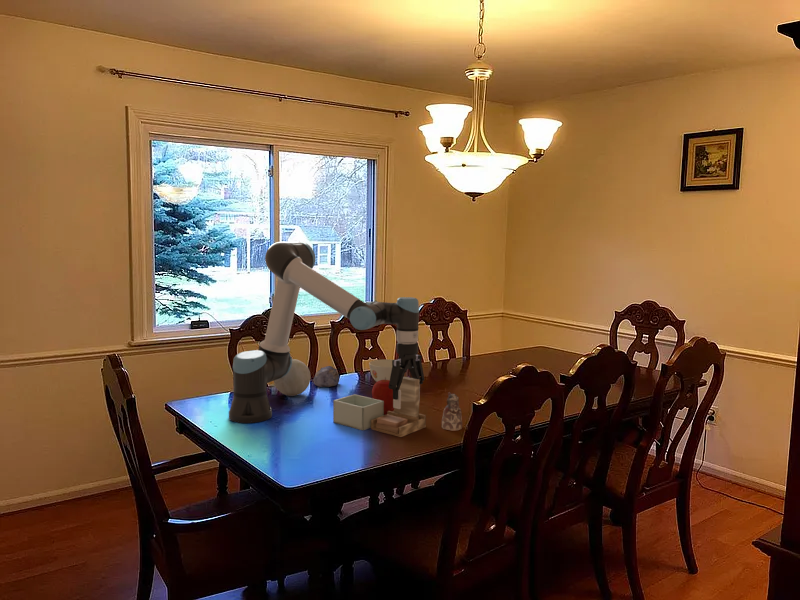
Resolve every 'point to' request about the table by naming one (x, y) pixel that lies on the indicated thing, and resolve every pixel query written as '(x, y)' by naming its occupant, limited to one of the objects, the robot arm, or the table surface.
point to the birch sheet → (409, 397)
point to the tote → (357, 411)
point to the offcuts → (390, 423)
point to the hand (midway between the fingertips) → (406, 404)
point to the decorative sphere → (294, 379)
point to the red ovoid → (383, 394)
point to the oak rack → (406, 429)
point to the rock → (326, 377)
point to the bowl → (381, 369)
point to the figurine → (452, 414)
